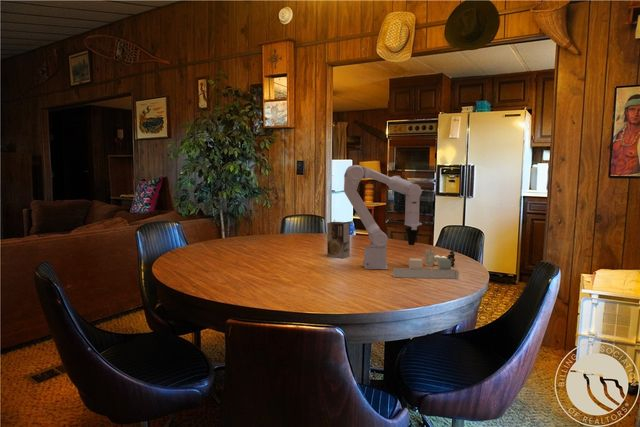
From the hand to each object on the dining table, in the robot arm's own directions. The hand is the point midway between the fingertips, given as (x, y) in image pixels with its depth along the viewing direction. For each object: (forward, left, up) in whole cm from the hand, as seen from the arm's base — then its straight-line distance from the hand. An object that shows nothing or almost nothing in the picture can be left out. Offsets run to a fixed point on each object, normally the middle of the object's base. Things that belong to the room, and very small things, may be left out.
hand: (411, 244), depth 177 cm
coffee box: (-31, +20, -10) cm, 38 cm away
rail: (+3, -15, -9) cm, 18 cm away
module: (0, -14, -9) cm, 17 cm away
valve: (+12, +4, -10) cm, 16 cm away
